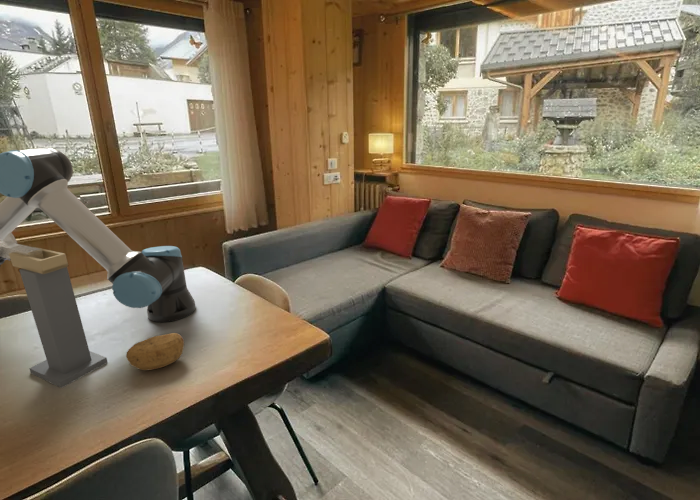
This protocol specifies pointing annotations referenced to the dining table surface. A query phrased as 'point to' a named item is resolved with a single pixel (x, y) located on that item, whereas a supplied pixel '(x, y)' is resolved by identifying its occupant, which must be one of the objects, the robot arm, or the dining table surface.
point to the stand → (56, 318)
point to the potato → (156, 351)
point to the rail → (19, 250)
